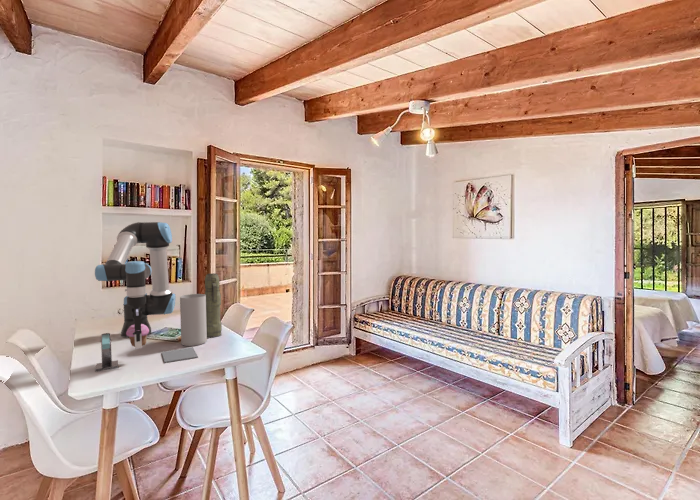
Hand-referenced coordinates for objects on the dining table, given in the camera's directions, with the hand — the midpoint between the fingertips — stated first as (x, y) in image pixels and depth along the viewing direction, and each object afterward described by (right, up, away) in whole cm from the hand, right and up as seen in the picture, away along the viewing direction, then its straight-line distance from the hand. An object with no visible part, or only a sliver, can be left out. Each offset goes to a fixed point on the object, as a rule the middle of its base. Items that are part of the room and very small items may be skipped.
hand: (138, 345), depth 169 cm
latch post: (-10, -8, -6) cm, 14 cm away
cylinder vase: (+13, -6, +29) cm, 32 cm away
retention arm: (-6, +4, -13) cm, 15 cm away
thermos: (+18, -6, +43) cm, 47 cm away
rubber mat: (+15, -7, +9) cm, 19 cm away
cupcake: (0, 0, 0) cm, 0 cm away
